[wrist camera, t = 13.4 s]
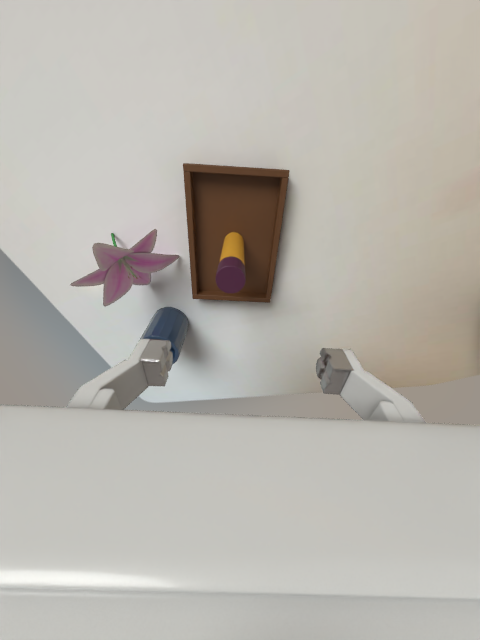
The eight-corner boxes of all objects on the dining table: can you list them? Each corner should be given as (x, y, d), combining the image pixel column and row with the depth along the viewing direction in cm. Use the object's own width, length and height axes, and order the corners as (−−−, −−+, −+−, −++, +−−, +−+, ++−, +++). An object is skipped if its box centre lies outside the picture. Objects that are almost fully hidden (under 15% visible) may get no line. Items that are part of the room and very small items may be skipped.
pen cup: (150, 306, 37) (132, 335, 30) (187, 307, 37) (176, 337, 31) (156, 334, 40) (141, 366, 34) (189, 336, 40) (180, 367, 34)
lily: (111, 288, 36) (118, 333, 31) (40, 223, 26) (32, 273, 21) (179, 253, 37) (198, 292, 31) (135, 177, 27) (151, 215, 22)
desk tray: (186, 163, 26) (182, 163, 24) (286, 169, 26) (289, 170, 25) (195, 292, 35) (192, 298, 34) (268, 295, 36) (270, 302, 34)
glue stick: (223, 231, 30) (215, 265, 20) (244, 232, 30) (246, 266, 20) (223, 251, 31) (215, 293, 21) (243, 252, 31) (244, 294, 21)
